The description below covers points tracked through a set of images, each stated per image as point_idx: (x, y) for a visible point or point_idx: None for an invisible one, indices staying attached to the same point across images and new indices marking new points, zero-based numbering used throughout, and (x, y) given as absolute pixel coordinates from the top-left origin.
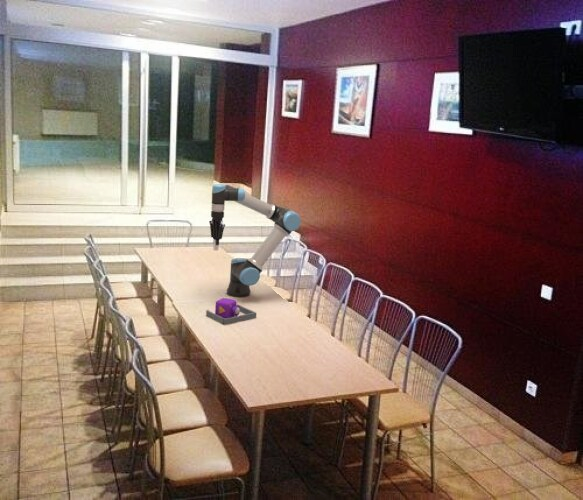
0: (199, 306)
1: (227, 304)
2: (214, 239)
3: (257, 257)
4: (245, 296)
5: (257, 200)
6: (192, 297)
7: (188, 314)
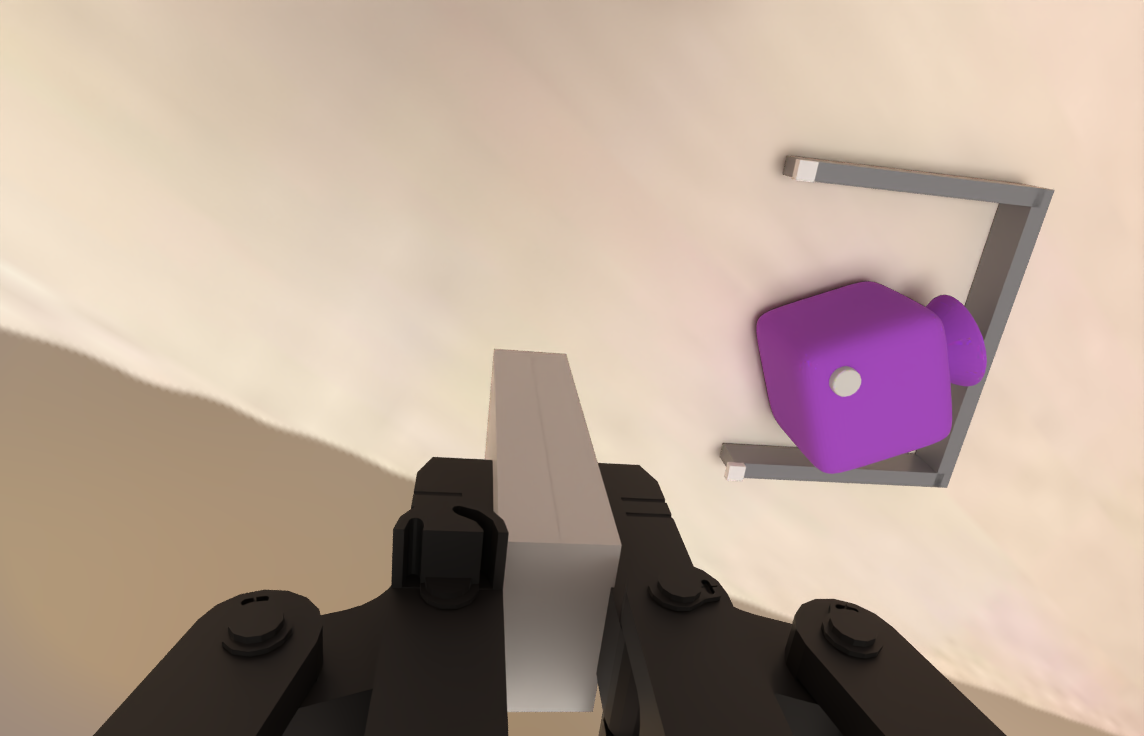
0: None
1: (936, 441)
2: (528, 706)
3: None
4: None
5: None
6: (274, 259)
7: None
